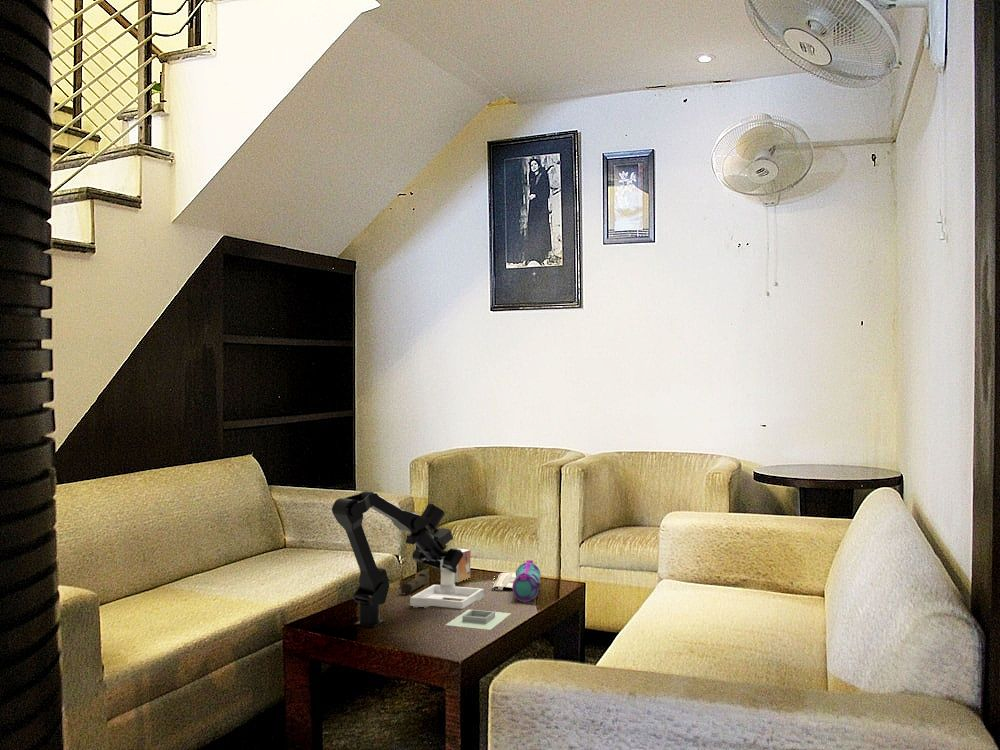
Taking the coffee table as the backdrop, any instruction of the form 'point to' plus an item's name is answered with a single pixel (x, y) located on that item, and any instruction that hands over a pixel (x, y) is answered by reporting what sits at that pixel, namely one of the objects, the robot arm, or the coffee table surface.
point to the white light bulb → (446, 580)
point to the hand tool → (415, 583)
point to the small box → (463, 567)
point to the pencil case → (526, 582)
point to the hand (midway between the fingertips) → (450, 570)
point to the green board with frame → (478, 619)
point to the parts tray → (435, 597)
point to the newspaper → (504, 580)
